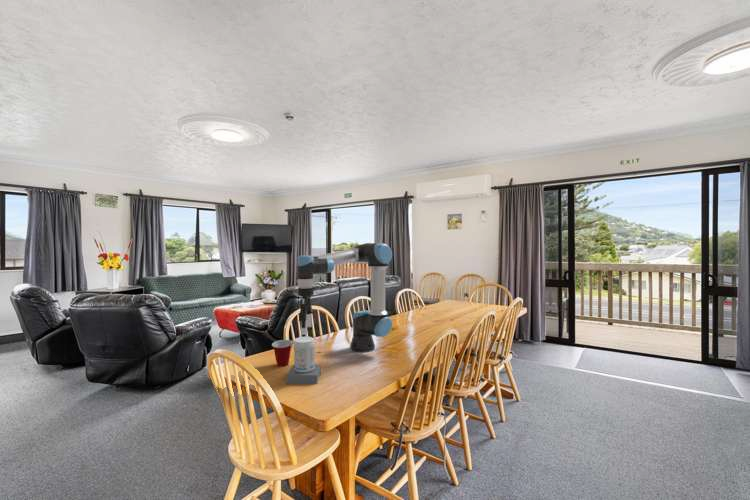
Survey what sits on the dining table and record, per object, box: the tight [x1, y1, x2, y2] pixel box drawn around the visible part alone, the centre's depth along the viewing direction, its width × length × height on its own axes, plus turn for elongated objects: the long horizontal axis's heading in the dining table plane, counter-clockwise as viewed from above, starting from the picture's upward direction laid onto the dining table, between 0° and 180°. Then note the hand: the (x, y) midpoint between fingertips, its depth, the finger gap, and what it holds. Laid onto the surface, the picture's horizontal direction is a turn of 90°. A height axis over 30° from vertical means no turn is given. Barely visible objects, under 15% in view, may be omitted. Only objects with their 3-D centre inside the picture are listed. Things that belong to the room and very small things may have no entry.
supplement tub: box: [293, 335, 316, 373], centre depth 165 cm, size 10×10×15 cm
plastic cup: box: [271, 339, 294, 367], centre depth 183 cm, size 11×11×12 cm
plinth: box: [285, 363, 322, 385], centre depth 165 cm, size 14×14×4 cm
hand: (306, 330), depth 168 cm, fingers open, 13 cm apart
